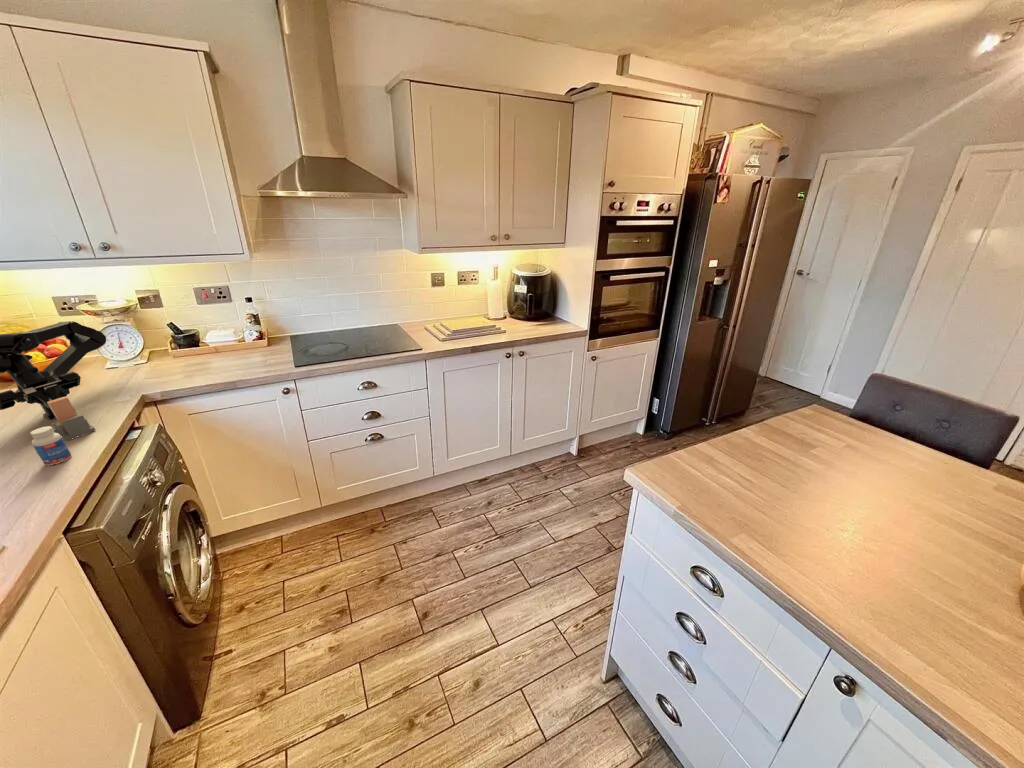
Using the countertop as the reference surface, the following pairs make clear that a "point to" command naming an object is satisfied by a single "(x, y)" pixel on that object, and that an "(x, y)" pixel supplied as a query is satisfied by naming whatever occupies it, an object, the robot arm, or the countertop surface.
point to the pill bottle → (50, 446)
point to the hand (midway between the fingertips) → (58, 411)
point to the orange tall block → (62, 409)
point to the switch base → (73, 427)
